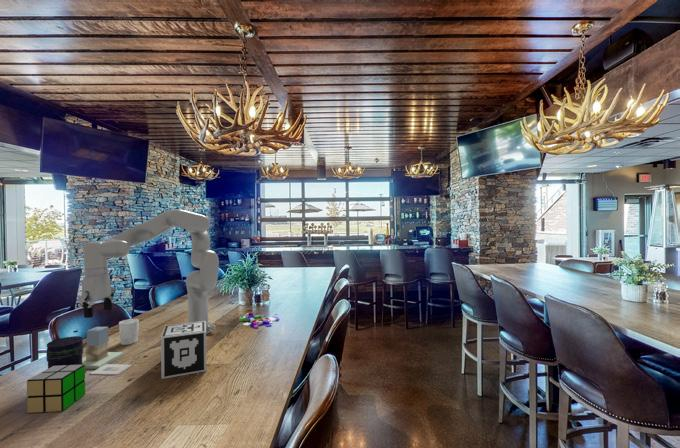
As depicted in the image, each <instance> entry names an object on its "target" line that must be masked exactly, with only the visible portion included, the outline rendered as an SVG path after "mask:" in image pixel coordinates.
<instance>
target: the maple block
mask: <svg viewBox="0 0 680 448" xmlns="http://www.w3.org/2000/svg"><path fill="white" fill-rule="evenodd" d="M108 342H109V341H108ZM108 342H106V343H104V344H102V345H100V346H87V344H86V346H85V356H86V361H99V360H101V359H102V358H104V357H106V356H108V352H109V349H108V348H109V347H108V345H109V344H108Z"/></svg>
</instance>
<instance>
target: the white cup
mask: <svg viewBox="0 0 680 448" xmlns="http://www.w3.org/2000/svg"><path fill="white" fill-rule="evenodd" d="M139 325H140V320H139V319H138V318H129V319H123V320H121V321H119V322H118V328H119V329H118V330H119V339H120V345H122V346H124V345H125V346H127V345H133V344H135V343H137V342H138V341H139V339H138V338H139V327H140V326H139Z"/></svg>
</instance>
